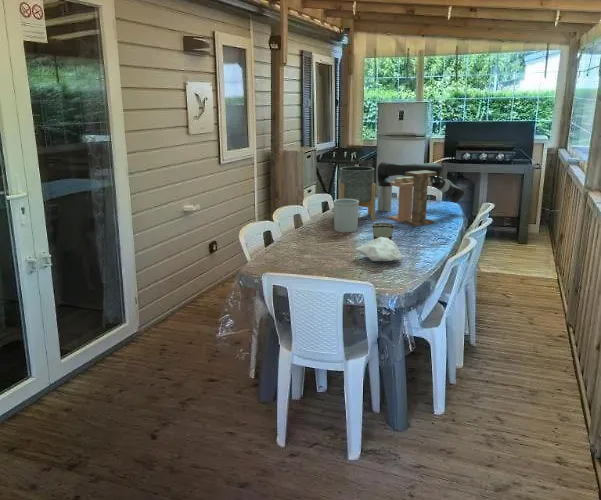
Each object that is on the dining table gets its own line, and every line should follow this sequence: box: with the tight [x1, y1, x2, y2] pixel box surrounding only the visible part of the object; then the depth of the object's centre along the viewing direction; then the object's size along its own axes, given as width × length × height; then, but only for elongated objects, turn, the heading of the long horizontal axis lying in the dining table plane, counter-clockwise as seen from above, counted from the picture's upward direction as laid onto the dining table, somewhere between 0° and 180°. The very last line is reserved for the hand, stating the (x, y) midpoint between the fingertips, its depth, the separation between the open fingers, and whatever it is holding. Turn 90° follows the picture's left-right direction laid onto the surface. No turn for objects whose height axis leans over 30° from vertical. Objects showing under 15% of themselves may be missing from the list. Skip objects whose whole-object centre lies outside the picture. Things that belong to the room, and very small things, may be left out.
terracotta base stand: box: [388, 181, 414, 223], centre depth 352 cm, size 16×12×24 cm
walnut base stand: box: [402, 170, 437, 227], centre depth 339 cm, size 16×10×32 cm, turn 118°
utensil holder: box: [333, 198, 359, 233], centre depth 326 cm, size 15×15×18 cm
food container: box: [371, 222, 396, 241], centre depth 301 cm, size 12×6×10 cm, turn 84°
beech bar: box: [394, 176, 431, 183], centre depth 351 cm, size 26×3×3 cm, turn 118°
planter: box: [338, 166, 377, 222], centre depth 358 cm, size 22×22×32 cm
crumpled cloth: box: [354, 237, 403, 262], centre depth 269 cm, size 24×35×9 cm
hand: (425, 173), depth 354 cm, fingers open, 8 cm apart
